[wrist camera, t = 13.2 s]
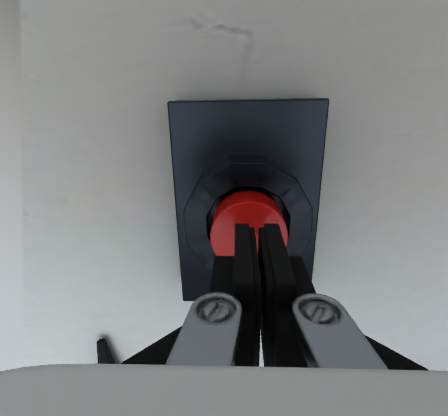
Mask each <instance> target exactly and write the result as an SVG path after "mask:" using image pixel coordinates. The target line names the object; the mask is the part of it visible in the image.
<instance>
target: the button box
mask: <svg viewBox="0 0 448 416" xmlns="http://www.w3.org/2000/svg"><path fill="white" fill-rule="evenodd" d="M167 104H168V117H169V129H170V142H171V155H172V167H173V180H174V193H175V205H176V218H177V230H178V243H179V256H180V268H181V281H182V294H183V301H195V300H196V299H197V298H199V297H200V296H202V295H205V294H208V293H209V291H210V284H211V277H212V270H213V263H214V256H216V254H215V253H214V251H213V248H212V245H211V240H210V233H211V227H212V222H213V216H214V213H215V211H216V209H217V207H218V205H219V204H220V203H221V202H222V201H223V200H224V199H225V198H226V197H228V196H229V195H231V194H233V193H236V192H240V191H257V192H260V193H263V194H265V195H267V196H268V197H270V198H271V199H272V200H273V201H274V202H275V203H276V204H277V205H278V207H279V209H280V211H281V213H282V216H283V219H284V221H285V224H286V227H287V231H288V241H287V245H286V249H287V252H288V256H302V258H303V261H304V263H305V266H306V269H307V271H308V274H309V276H310V279H311V281H312V273H313V262H314V252H315V242H316V231H317V221H318V211H319V200H320V190H321V180H322V169H323V159H324V149H325V138H326V128H327V118H328V107H329V99H328V98H284V99H231V100H179V101H169V102H168V103H167Z"/></svg>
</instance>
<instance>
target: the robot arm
mask: <svg viewBox="0 0 448 416" xmlns="http://www.w3.org/2000/svg"><path fill="white" fill-rule="evenodd" d="M260 329H261V339H262V349H263V360H264V367H259V352H260ZM0 416H448V371H429V370H428V369H426V368H424V367H422V366H421V365H419V364H417V363H415V362H413V361H411V360H410V359H408V358H406V357H404V356H402V355H400V354H399V353H397V352H395V351H393V350H391V349H389V348H388V347H386V346H384V345H382V344H380V343H378V342H376V341H375V340H373V339H371V338H369V337H367V336H365V335H364V334H363V333H362V332H361V330H360V329H359V327H358V326H357V325H356V323H355V322H354V320H353V319H352V318H351V316H350V315H349V314H348V312H347V311H346V309H345V308H344V307H343V306H342V305H341V304H340V303H339V302H338V301H337V300H335V299H333V298H331V297H329V296H326V295H322V294H317V293H316V292H315V289H314V287H313V284H312V281H311V279H310V276H309V274H308V271H307V269H306V266H305V263H304V261H303V258H302V256H288V252H287V249H286V246H285V243H284V239H283V236H282V233H281V230H280V226H279V224H278V223H264V227H259V229H258V252H257V244H256V236H255V228H254V227H249V223H235V246H234V256H214V263H213V270H212V277H211V284H210V291H209V293H208V294H205V295H202V296H200V297H199V298H197V299H196V300H195V301H194V303H193V304H192V305H191V308H190V310H189V312H188V315H187V317H186V319H185V321H184V324H183V326H181V327H180V328H178V329H176V330H175V331H173V332H171V333H170V334H168V335H167V336H165V337H163V338H162V339H160V340H158V341H157V342H155V343H153V344H152V345H150V346H148V347H147V348H145V349H144V350H142V351H140V352H139V353H137V354H135V355H134V356H132V357H130V358H129V359H127V360H125V361H124V362H122V363H121V364H54V365H40V366H29V367H22V368H17V369H11V370H6V371H0Z"/></svg>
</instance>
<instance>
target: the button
mask: <svg viewBox="0 0 448 416" xmlns="http://www.w3.org/2000/svg"><path fill="white" fill-rule="evenodd" d="M235 223H249V227H254V228H255V236H256V244H257V252H258V229H259V227H264V223H278V224H279V226H280V230H281V233H282V236H283V239H284V243H285V246H286V245H287V241H288V231H287V227H286V224H285V221H284V219H283V216H282V213H281V211H280V209H279V207H278V205H277V204H276V203H275V202H274V201H273V200H272V199H271V198H270V197H268V196H267V195H265V194H263V193H260V192H257V191H240V192H236V193H233V194H231V195H229V196H228V197H226V198H225V199H224V200H223V201H222V202H221V203H220V204H219V205H218V207H217V209H216V211H215V213H214V216H213V222H212V227H211V233H210V240H211V245H212V248H213V251H214V253H215V254H216V256H234V246H235Z"/></svg>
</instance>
